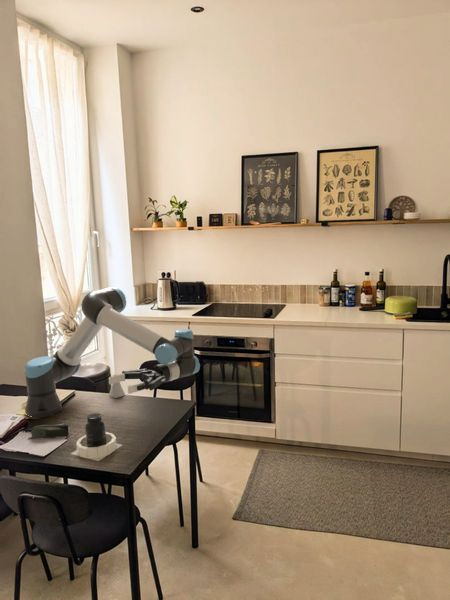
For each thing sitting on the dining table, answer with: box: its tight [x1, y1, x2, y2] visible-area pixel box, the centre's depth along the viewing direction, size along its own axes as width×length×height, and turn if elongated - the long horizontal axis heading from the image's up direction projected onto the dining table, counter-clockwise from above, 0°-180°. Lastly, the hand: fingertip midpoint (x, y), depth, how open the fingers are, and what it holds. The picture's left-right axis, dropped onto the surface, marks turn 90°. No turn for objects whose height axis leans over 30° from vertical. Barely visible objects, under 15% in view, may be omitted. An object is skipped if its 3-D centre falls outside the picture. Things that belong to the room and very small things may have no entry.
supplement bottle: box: [84, 412, 107, 448], centre depth 169 cm, size 7×7×12 cm
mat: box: [70, 442, 123, 462], centre depth 170 cm, size 13×13×1 cm
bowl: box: [75, 431, 117, 460], centre depth 170 cm, size 13×13×4 cm
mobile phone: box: [27, 424, 69, 440], centre depth 182 cm, size 5×3×15 cm
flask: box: [108, 374, 126, 399], centre depth 224 cm, size 7×7×10 cm
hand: (118, 385), depth 174 cm, fingers open, 13 cm apart
